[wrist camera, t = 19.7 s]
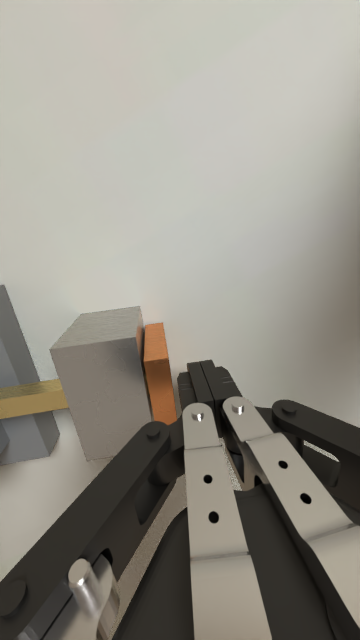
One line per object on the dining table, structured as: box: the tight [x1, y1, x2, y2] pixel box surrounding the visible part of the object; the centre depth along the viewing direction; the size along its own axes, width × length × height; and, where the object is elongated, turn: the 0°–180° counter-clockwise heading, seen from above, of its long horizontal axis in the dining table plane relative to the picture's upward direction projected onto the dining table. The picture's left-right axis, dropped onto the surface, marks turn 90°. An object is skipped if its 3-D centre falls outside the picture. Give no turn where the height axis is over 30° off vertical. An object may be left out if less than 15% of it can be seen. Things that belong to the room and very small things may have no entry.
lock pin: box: [0, 323, 177, 425], centre depth 14 cm, size 12×4×5 cm, turn 96°
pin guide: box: [49, 306, 155, 461], centre depth 14 cm, size 7×4×5 cm, turn 6°
